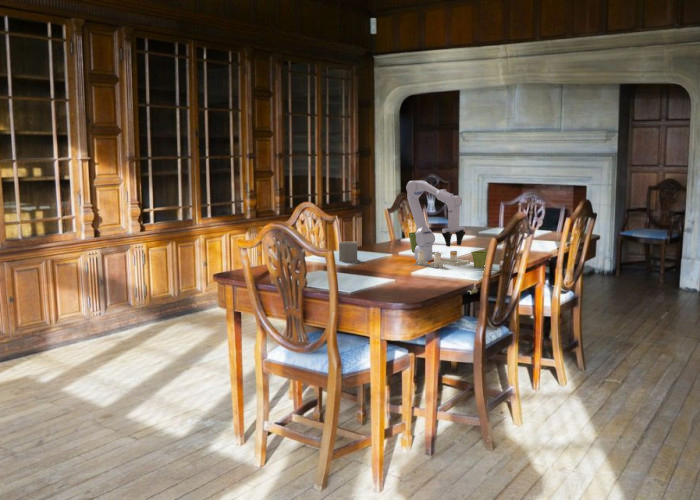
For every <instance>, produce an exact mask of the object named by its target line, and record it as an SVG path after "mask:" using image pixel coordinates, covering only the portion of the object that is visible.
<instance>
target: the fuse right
mask: <svg viewBox="0 0 700 500" xmlns="http://www.w3.org/2000/svg"><path fill="white" fill-rule="evenodd" d="M441 260H442V253H441V252H434V253H433V262H434V268H433V269H435V268H439V264H441Z"/></svg>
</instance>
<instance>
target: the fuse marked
mask: <svg viewBox="0 0 700 500" xmlns="http://www.w3.org/2000/svg"><path fill="white" fill-rule="evenodd" d="M449 253H450V254H449V256H450V257H449V259H450V261H449V262H451V263H456V262H457V259H458V251H457V250H450V251H449Z"/></svg>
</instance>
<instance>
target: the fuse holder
mask: <svg viewBox="0 0 700 500" xmlns="http://www.w3.org/2000/svg"><path fill="white" fill-rule="evenodd" d="M429 263H430V264H429ZM411 265H412V266H418V267H424V268H430V269H435V270H439V269H446V268H448V267H447V266H444V264H439V268H434V261H432V262H429V261H422V265H418V260H417V259H415V263H412V264H411Z"/></svg>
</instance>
